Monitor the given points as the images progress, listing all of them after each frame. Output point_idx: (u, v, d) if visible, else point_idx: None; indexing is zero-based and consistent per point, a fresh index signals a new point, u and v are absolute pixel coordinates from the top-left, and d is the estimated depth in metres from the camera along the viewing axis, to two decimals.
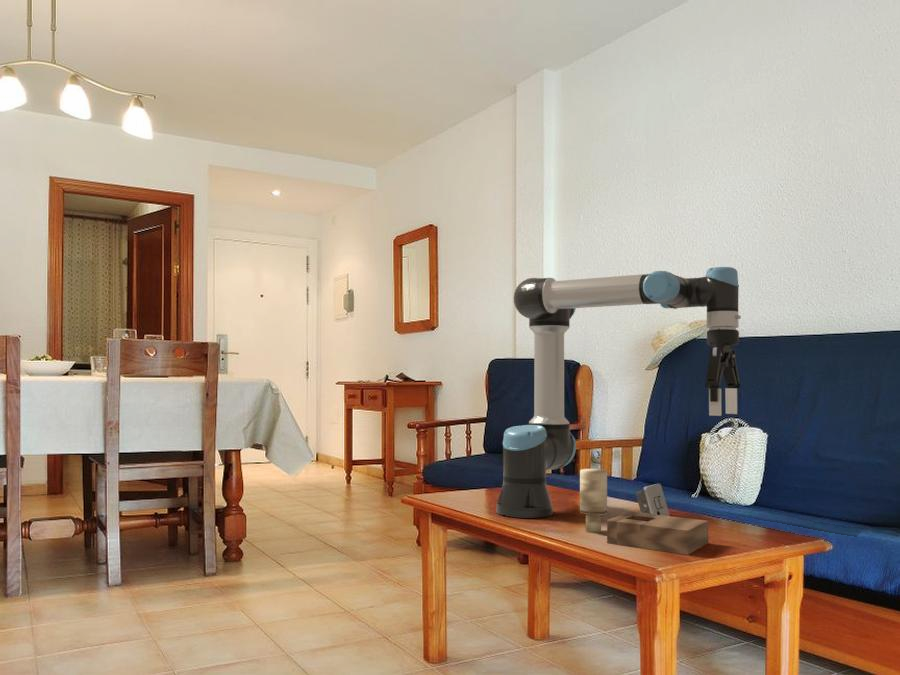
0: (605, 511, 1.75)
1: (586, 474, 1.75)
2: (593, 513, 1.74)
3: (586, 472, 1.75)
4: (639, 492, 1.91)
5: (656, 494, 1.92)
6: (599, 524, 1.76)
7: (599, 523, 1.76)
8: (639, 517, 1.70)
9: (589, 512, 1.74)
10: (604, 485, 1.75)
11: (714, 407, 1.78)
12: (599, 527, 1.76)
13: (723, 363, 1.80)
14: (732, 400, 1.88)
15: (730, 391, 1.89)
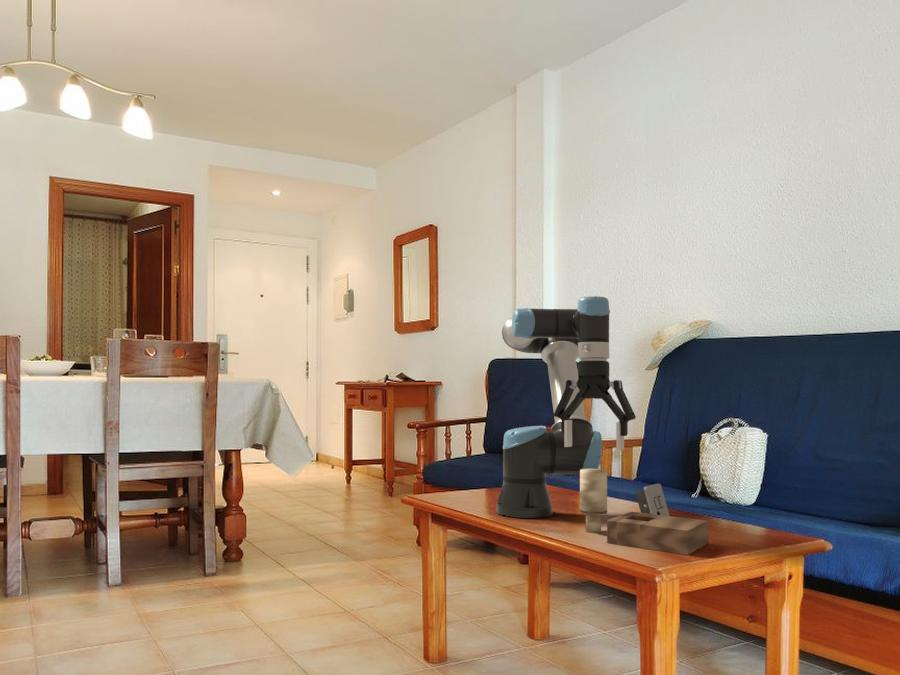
0: (605, 511, 1.75)
1: (586, 474, 1.75)
2: (593, 513, 1.74)
3: (586, 472, 1.75)
4: (639, 492, 1.91)
5: (656, 494, 1.92)
6: (599, 524, 1.76)
7: (599, 523, 1.76)
8: (639, 517, 1.70)
9: (589, 512, 1.74)
10: (604, 485, 1.75)
11: None
12: (599, 527, 1.76)
13: None
14: None
15: None
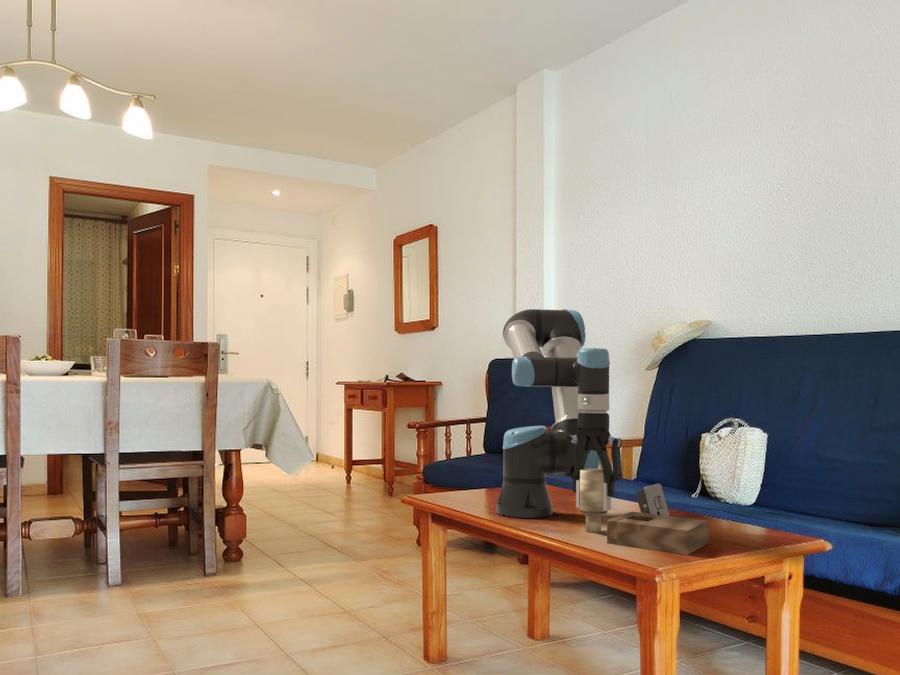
0: (605, 511, 1.75)
1: (586, 474, 1.75)
2: (593, 513, 1.74)
3: (586, 472, 1.75)
4: (639, 492, 1.91)
5: (656, 494, 1.92)
6: (599, 524, 1.76)
7: (599, 523, 1.76)
8: (639, 517, 1.70)
9: (589, 512, 1.74)
10: None
11: None
12: (599, 527, 1.76)
13: None
14: None
15: None
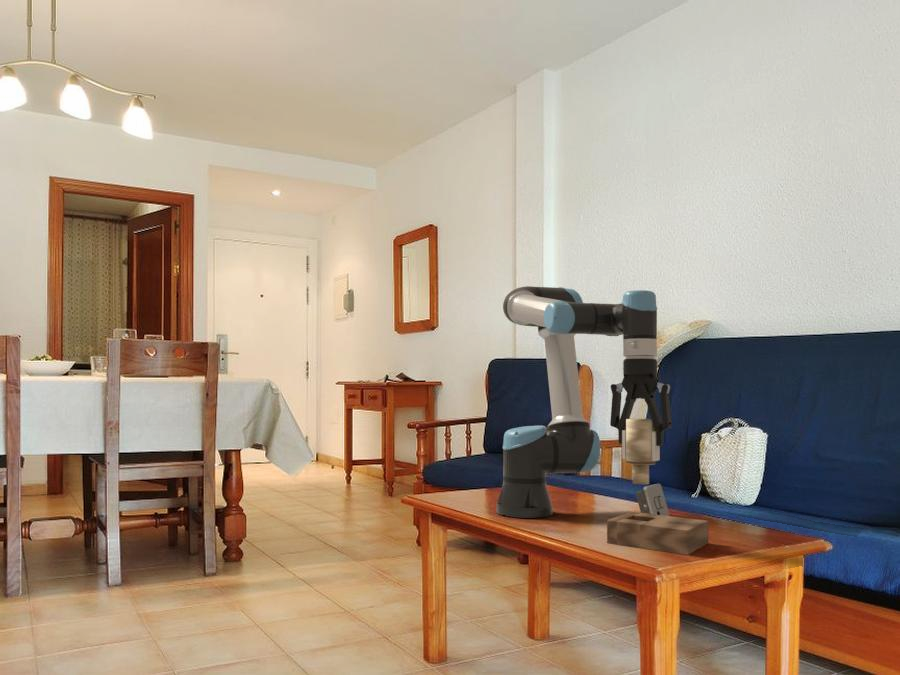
0: (654, 461, 1.66)
1: (633, 423, 1.66)
2: (642, 464, 1.65)
3: (633, 420, 1.66)
4: (639, 492, 1.91)
5: (656, 494, 1.92)
6: (647, 475, 1.66)
7: (647, 474, 1.66)
8: (639, 517, 1.70)
9: (637, 462, 1.65)
10: None
11: None
12: (647, 479, 1.66)
13: None
14: None
15: None
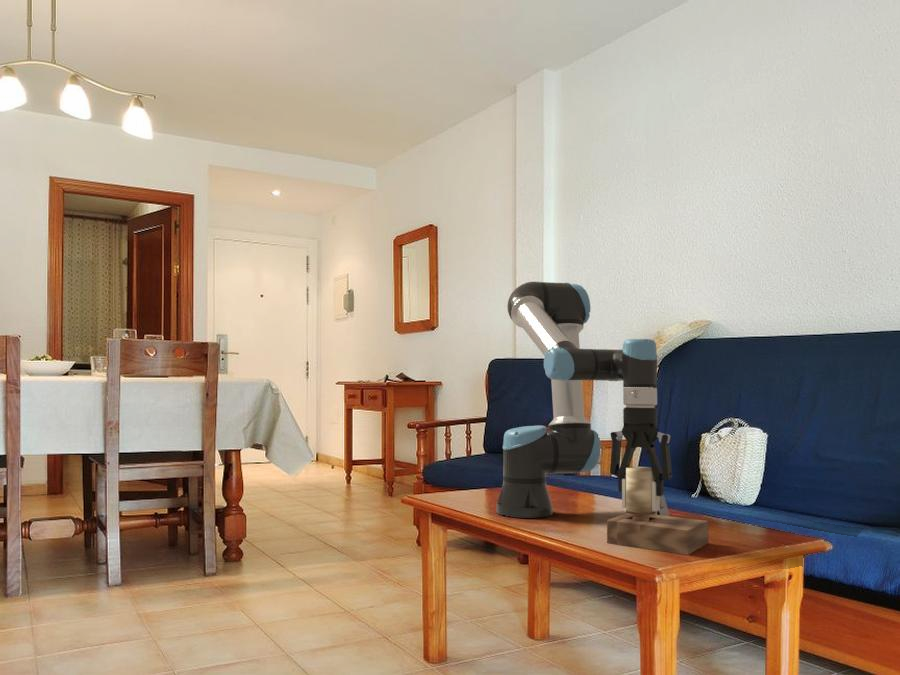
0: (654, 511, 1.65)
1: (633, 472, 1.65)
2: (642, 514, 1.64)
3: (633, 470, 1.65)
4: None
5: None
6: None
7: None
8: None
9: (637, 512, 1.64)
10: None
11: None
12: None
13: None
14: None
15: None
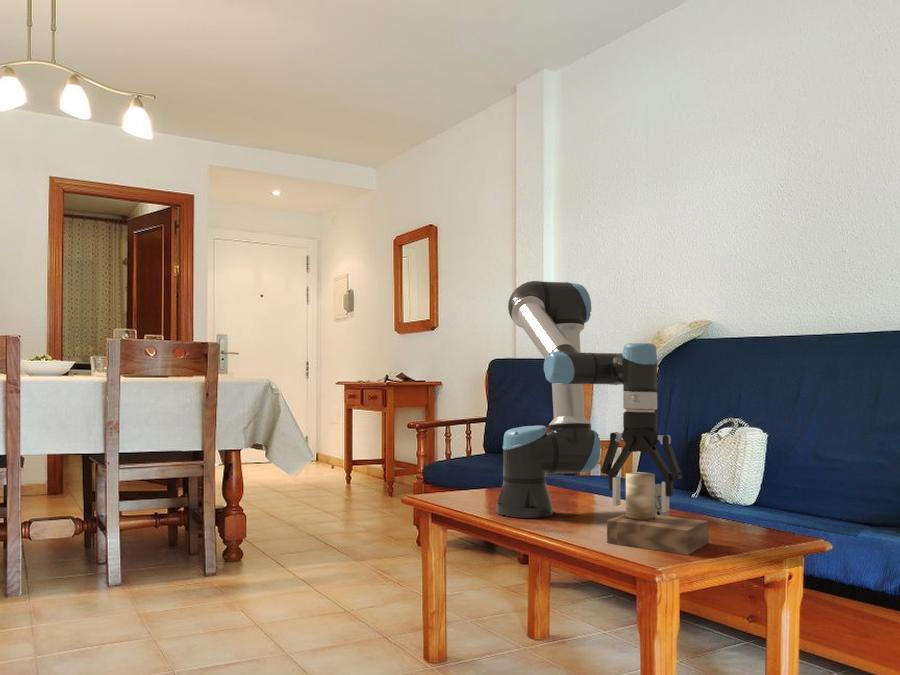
0: (654, 517, 1.65)
1: (633, 478, 1.65)
2: (641, 520, 1.64)
3: (633, 476, 1.65)
4: None
5: (656, 494, 1.92)
6: None
7: None
8: None
9: (636, 518, 1.64)
10: (652, 490, 1.65)
11: None
12: None
13: None
14: None
15: None
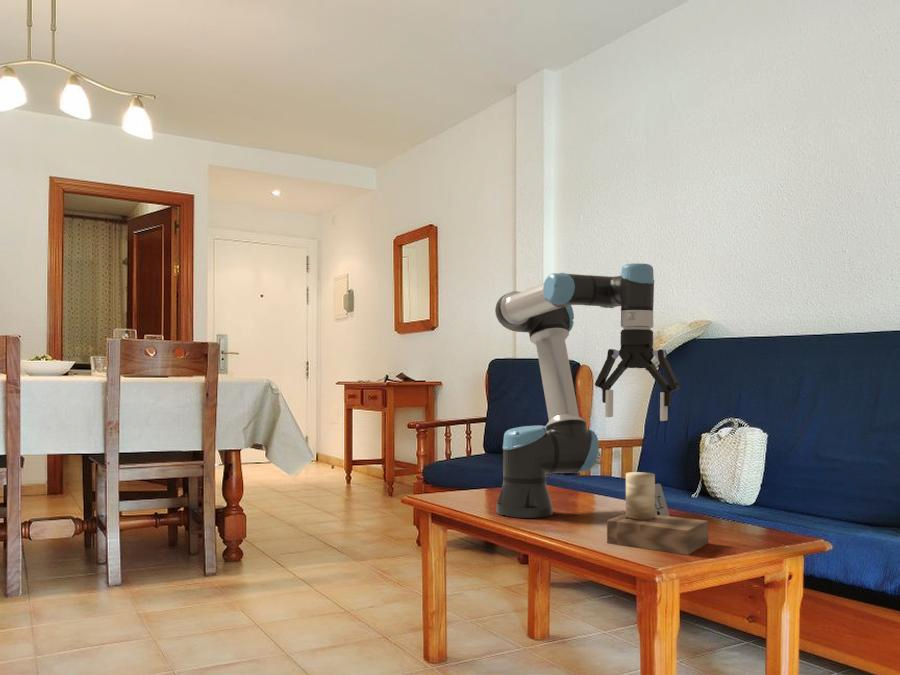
0: (654, 517, 1.65)
1: (633, 478, 1.65)
2: (641, 520, 1.64)
3: (633, 476, 1.65)
4: None
5: (656, 494, 1.92)
6: None
7: None
8: None
9: (636, 518, 1.64)
10: (652, 490, 1.65)
11: None
12: None
13: None
14: None
15: None
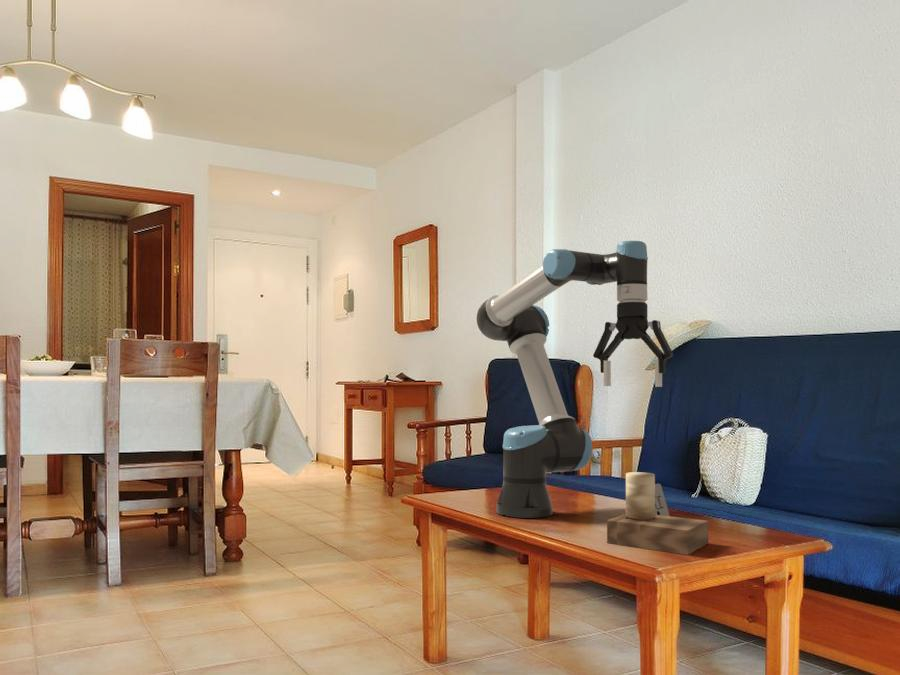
0: (654, 517, 1.65)
1: (633, 478, 1.65)
2: (641, 520, 1.64)
3: (633, 476, 1.65)
4: None
5: (656, 494, 1.92)
6: None
7: None
8: None
9: (636, 518, 1.64)
10: (652, 490, 1.65)
11: None
12: None
13: None
14: None
15: None
